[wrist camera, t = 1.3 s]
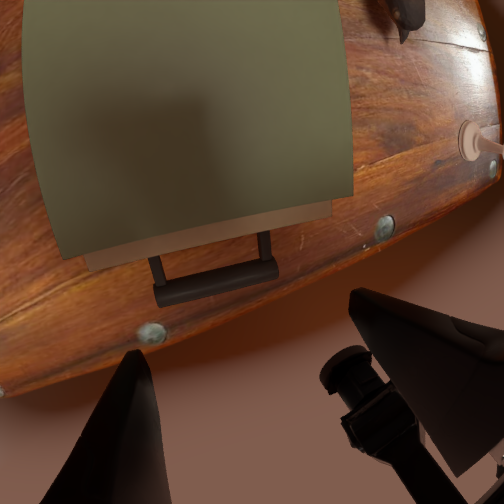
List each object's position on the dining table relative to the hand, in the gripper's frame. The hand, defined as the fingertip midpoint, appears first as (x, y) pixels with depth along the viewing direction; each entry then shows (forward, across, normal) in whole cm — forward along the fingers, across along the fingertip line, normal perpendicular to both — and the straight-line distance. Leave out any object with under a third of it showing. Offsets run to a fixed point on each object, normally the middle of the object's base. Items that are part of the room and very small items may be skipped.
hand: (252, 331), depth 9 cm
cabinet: (+13, 0, -9) cm, 16 cm away
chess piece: (+13, -31, -4) cm, 34 cm away
